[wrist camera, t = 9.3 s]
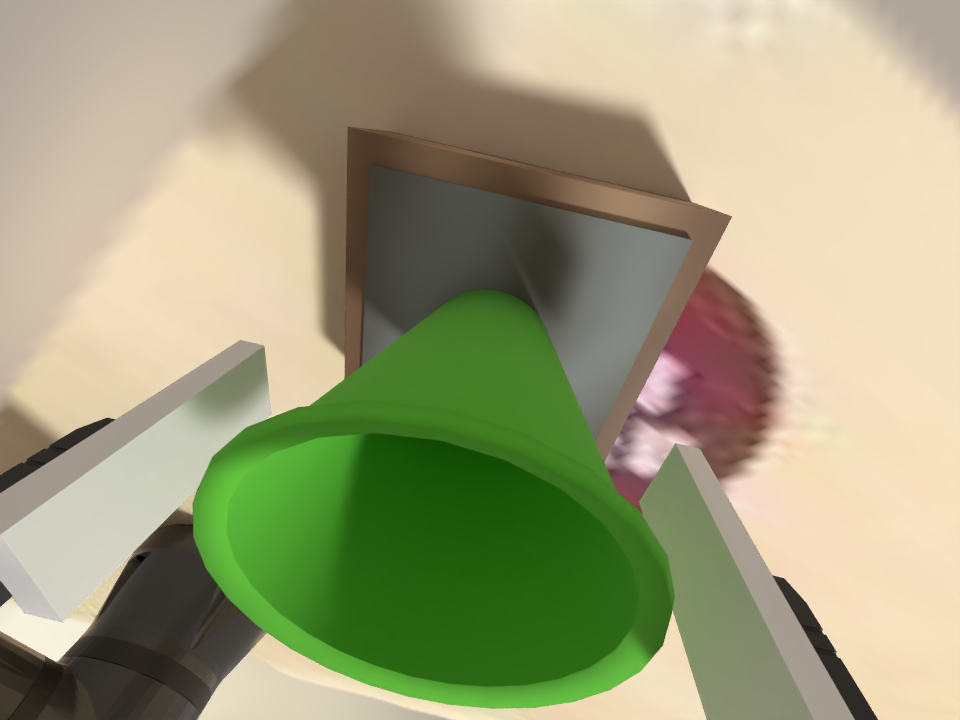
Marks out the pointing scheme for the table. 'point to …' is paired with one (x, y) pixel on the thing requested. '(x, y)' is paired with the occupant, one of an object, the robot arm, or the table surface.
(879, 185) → the table surface
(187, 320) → the table surface
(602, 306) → the flat stove
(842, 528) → the table surface
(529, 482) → the cup
